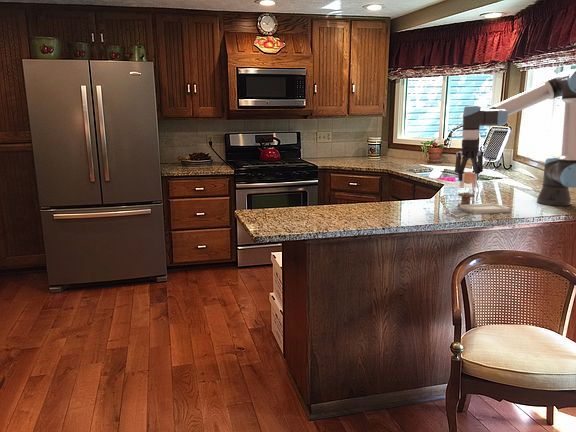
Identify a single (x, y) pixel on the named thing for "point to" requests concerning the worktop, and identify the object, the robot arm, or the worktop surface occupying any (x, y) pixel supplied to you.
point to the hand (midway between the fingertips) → (467, 187)
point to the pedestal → (465, 198)
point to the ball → (469, 177)
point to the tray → (484, 208)
